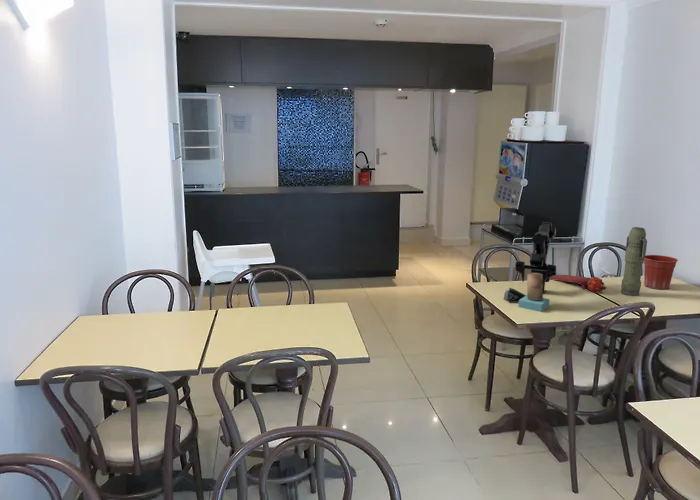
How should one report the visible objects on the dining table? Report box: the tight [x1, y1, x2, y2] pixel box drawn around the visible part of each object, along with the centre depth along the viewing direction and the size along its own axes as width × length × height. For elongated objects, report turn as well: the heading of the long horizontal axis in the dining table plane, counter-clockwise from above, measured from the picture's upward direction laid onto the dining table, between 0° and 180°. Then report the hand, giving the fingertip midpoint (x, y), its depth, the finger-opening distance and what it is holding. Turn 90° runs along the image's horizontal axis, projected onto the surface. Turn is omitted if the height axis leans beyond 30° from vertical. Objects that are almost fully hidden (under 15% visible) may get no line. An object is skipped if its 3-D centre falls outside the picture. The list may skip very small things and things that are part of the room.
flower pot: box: [643, 254, 679, 290], centre depth 297 cm, size 16×16×16 cm
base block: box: [517, 294, 550, 313], centre depth 262 cm, size 11×11×4 cm
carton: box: [549, 274, 591, 290], centre depth 305 cm, size 12×5×25 cm
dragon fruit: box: [586, 276, 608, 294], centre depth 287 cm, size 8×8×12 cm
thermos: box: [620, 226, 648, 297], centre depth 282 cm, size 9×12×35 cm
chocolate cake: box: [503, 287, 527, 304], centre depth 272 cm, size 10×7×12 cm
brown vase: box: [526, 272, 544, 300], centre depth 262 cm, size 7×7×12 cm
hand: (532, 282), depth 261 cm, fingers open, 9 cm apart
